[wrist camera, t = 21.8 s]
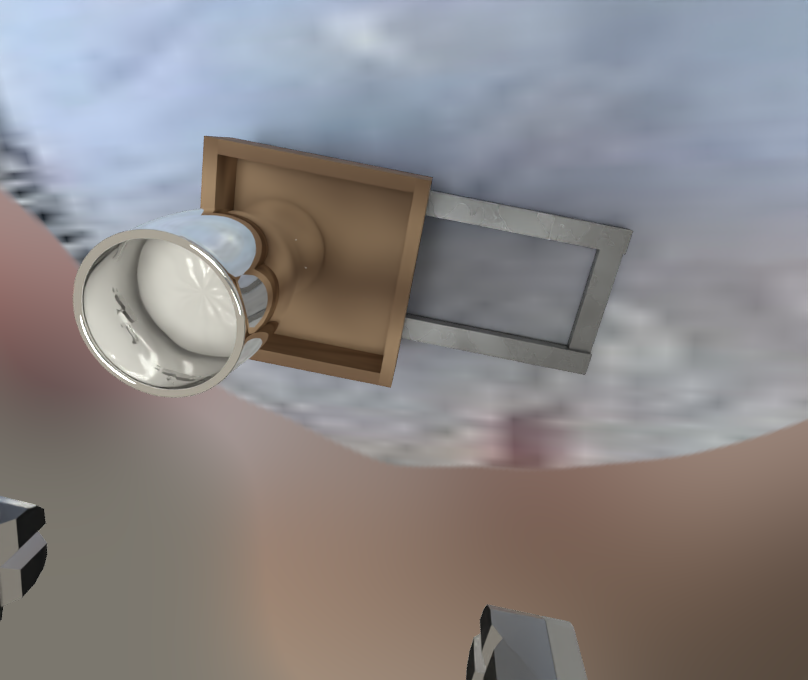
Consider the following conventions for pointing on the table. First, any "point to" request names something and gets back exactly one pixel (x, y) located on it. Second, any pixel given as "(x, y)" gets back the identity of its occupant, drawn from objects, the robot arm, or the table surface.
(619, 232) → the track
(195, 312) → the beer glass
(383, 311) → the tray
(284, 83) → the table surface
